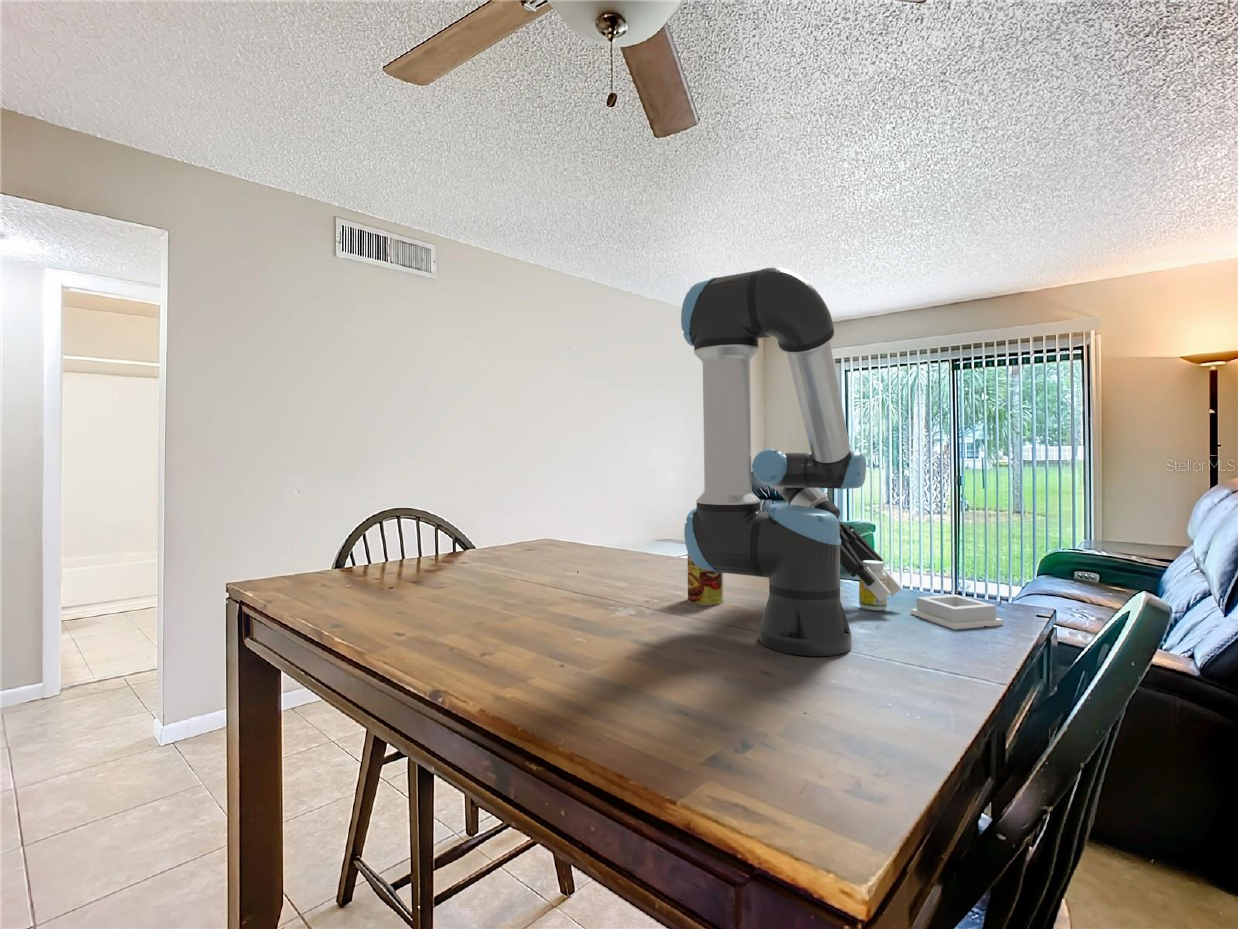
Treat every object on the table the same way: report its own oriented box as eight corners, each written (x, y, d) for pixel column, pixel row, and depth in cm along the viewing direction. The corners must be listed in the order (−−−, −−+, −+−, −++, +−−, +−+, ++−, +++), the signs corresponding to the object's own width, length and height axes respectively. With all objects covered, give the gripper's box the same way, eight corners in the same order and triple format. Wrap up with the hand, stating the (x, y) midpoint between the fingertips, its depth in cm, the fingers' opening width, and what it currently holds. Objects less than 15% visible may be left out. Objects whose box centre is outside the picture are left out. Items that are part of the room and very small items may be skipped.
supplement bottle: (882, 612, 118) (882, 564, 118) (855, 608, 121) (855, 562, 121) (890, 607, 122) (890, 561, 122) (863, 603, 125) (863, 558, 125)
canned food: (682, 598, 133) (682, 545, 133) (714, 595, 134) (714, 544, 134) (695, 606, 125) (695, 550, 125) (729, 604, 127) (729, 549, 127)
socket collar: (954, 629, 107) (954, 610, 107) (910, 614, 117) (910, 596, 117) (1002, 625, 109) (1002, 606, 109) (956, 610, 120) (955, 593, 120)
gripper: (824, 518, 139) (895, 598, 127) (784, 523, 126) (858, 613, 114) (845, 496, 135) (921, 577, 123) (806, 500, 122) (886, 590, 111)
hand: (891, 594), depth 119 cm, fingers closed on supplement bottle, 5 cm apart
